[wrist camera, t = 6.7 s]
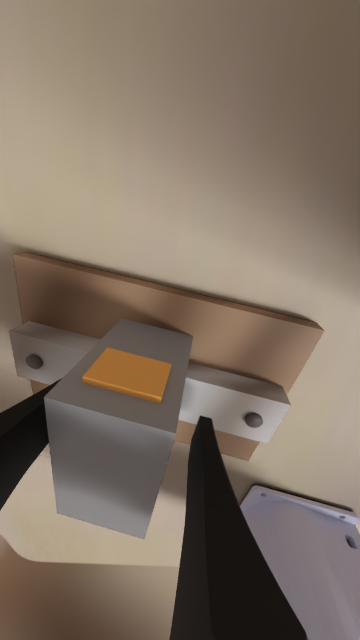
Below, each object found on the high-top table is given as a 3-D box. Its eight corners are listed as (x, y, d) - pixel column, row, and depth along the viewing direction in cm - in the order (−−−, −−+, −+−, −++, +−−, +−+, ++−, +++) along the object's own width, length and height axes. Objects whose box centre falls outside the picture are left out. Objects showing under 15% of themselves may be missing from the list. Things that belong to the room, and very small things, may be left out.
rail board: (316, 322, 12) (342, 347, 10) (246, 448, 17) (251, 485, 15) (26, 252, 13) (-17, 258, 10) (43, 393, 18) (16, 418, 16)
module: (194, 331, 12) (177, 427, 7) (169, 424, 16) (144, 539, 10) (122, 313, 13) (43, 390, 7) (113, 409, 16) (57, 513, 10)
